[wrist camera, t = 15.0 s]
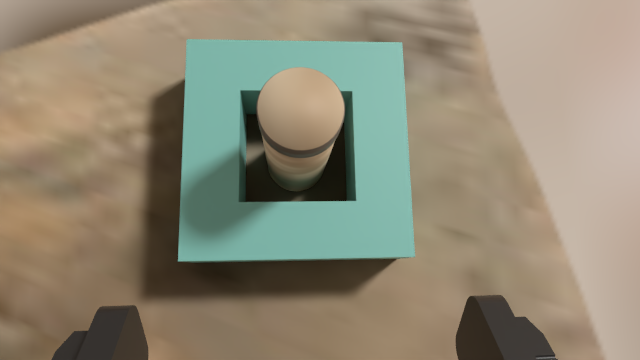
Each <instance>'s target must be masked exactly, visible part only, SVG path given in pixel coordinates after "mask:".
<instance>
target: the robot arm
mask: <svg viewBox="0 0 640 360" xmlns="http://www.w3.org/2000/svg"><path fill="white" fill-rule="evenodd" d="M456 351H457V356H458V359H459V360H558V359H556V358H555V354H554V352H553V350H552V349H551V347H550V345H549V343H548V341H547V340H546V338H545V336H544V334H543V333H542V332H541V331H539V330H538V329H537V328H536V327H535V326H534V325H533V324H532V323H531V322H530V321H529V320H528V319H527V318H526V317H515V316H514V314H513V312H512V311H511V309H510V307H509V305H508V303H507V301H506V300H505V298H504V297H503V296H501V295H487V296H470V297H469V298H468V299H467V302H466V305H465V308H464V312H463V315H462V318H461V321H460V324H459V328H458V331H457V334H456ZM52 360H148V345H147V341H146V337H145V334H144V330H143V327H142V323H141V320H140V316H139V313H138V310H137V307H136V306H134V305H132V306H102V307H100V308H99V309H98V310H97V312H96V314H95V316H94V319H93V321H92V323H91V326H90V328H89V331H74V332H73V333H72V334H71V336H70V337H69V338H68V339H67V340H66V341H65V342H64V343H63V344H62V345H61V346H60V347H59V348H58V349H57V351H56V352H55V354H54V356H53V358H52Z"/></svg>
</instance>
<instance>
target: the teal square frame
mask: <svg viewBox="0 0 640 360" xmlns="http://www.w3.org/2000/svg"><path fill="white" fill-rule="evenodd" d="M294 67H305V68H311V69H314V70H317V71H319V72H322V73H323V74H325V75H326V76H328V77H329V78H330V79H331V80H332V81H333V82H334V83H335V84H336V85H337V87H338V88H339V90H340V91H341V94H342V96H343V99H344V103H345V117H344V127H345V159H346V190H347V201H304V202H246V127H247V114H257V113H256V105H257V99H258V96H259V93H260V91H261V89H262V87H263V86H264V84H265V83H266V82H267V81H268V80H269V79H270V78H271V77H272V76H274V75H275V74H277V73H278V72H281V71H283V70H286V69H289V68H294ZM409 257H415V250H414V233H413V216H412V200H411V183H410V166H409V149H408V133H407V116H406V99H405V82H404V65H403V49H402V43H401V42H334V41H267V40H200V39H187V47H186V72H185V97H184V122H183V147H182V172H181V197H180V222H179V247H178V261H180V262H192V263H199V262H252V261H305V260H358V259H400V258H409Z"/></svg>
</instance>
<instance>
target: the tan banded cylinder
mask: <svg viewBox="0 0 640 360" xmlns="http://www.w3.org/2000/svg"><path fill="white" fill-rule="evenodd" d="M256 113H257V119H258V124H259V128H260V131H261V134H262V138H263V143H264V149H265V154H266V159H267V165H268V170H269V173H270V175H271V177H272V179H273V180H274V181H275V182H276V183H277V184H278V185H279V186H280V187H282V188H284V189H286V190H290V191H303V190H306V189H309V188H311V187H312V186H314V185H315V184H316V183H317V182H318V181H319V180H320V178H321V176H322V174H323V172H324V169H325V166H326V164H327V161H328V158H329V156H330V153H331V150H332V147H333V145H334V142H335V140H336V138H337V137H338V135H339V132H340V130H341V127H342V124H343V121H344V117H345V103H344V99H343V96H342V94H341V91H340V90H339V88H338V87H337V85H336V84H335V83H334V82H333V81H332V80H331V79H330V78H329V77H328V76H326V75H325V74H323V73H322V72H319V71H317V70H314V69H311V68H305V67H294V68H289V69H286V70H283V71H281V72H278V73H277V74H275V75H274V76H272V77H271V78H270V79H269V80H268V81H267V82H266V83H265V84H264V86H263V87H262V89H261V91H260V93H259V96H258V99H257V105H256Z"/></svg>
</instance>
